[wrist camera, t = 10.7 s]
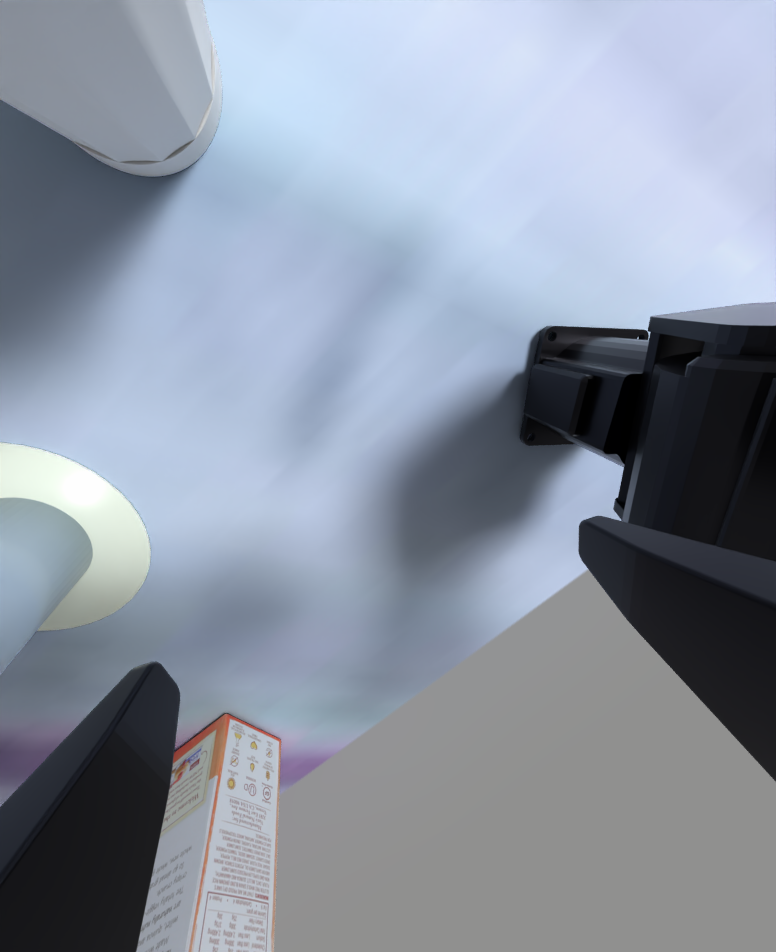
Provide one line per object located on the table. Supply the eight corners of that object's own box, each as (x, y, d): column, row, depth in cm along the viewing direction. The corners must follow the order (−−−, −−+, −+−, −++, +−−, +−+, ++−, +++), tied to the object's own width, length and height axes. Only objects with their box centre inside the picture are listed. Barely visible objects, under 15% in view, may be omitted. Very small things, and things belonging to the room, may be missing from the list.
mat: (122, 438, 17) (121, 439, 17) (169, 615, 22) (168, 617, 22) (-180, 445, 15) (-184, 446, 15) (-59, 641, 19) (-61, 643, 19)
